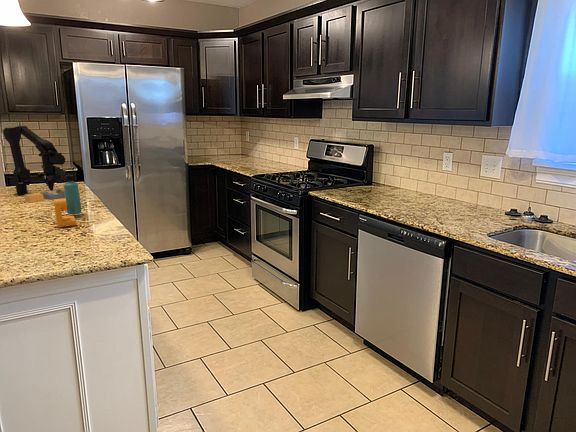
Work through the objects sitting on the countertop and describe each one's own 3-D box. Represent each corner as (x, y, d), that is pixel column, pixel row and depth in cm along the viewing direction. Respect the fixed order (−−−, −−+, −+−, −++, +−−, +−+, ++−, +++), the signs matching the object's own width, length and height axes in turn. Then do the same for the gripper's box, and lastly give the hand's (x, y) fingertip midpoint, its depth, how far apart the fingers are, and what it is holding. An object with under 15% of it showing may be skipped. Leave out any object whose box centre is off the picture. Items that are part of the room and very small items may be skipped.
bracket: (76, 226, 188) (73, 200, 185) (58, 228, 184) (54, 201, 181) (74, 221, 197) (70, 195, 194) (56, 223, 193) (53, 197, 190)
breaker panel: (40, 196, 249) (39, 191, 249) (61, 193, 259) (60, 188, 258) (50, 199, 241) (50, 194, 240) (72, 196, 250) (71, 191, 249)
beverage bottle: (85, 215, 208) (80, 174, 203) (73, 218, 202) (68, 176, 197) (76, 213, 210) (70, 173, 205) (64, 216, 204) (58, 175, 199)
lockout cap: (25, 201, 238) (24, 194, 237) (38, 199, 243) (37, 192, 242) (30, 202, 233) (29, 196, 232) (44, 200, 239) (43, 194, 238)
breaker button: (48, 196, 248) (47, 190, 247) (54, 195, 251) (53, 189, 250) (50, 197, 246) (50, 191, 245) (56, 196, 248) (56, 190, 248)
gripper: (69, 164, 244) (73, 190, 248) (55, 161, 255) (58, 186, 259) (49, 166, 236) (53, 193, 239) (35, 163, 247) (39, 189, 251)
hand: (51, 190), depth 247 cm, fingers closed, pressing on breaker button
